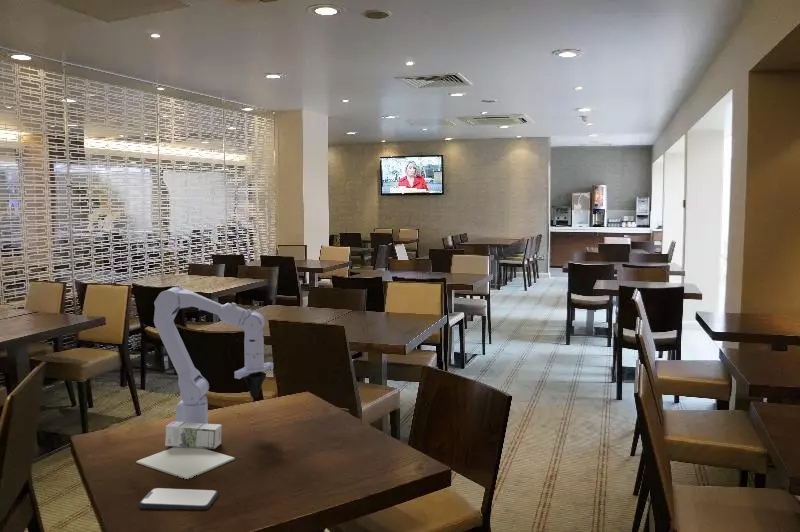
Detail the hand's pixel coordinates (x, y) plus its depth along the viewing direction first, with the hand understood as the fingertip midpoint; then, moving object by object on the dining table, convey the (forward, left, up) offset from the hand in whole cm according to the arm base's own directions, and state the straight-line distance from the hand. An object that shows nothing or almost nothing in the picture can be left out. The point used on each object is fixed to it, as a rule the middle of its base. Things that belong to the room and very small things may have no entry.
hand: (254, 396), depth 202 cm
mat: (+2, -28, -10) cm, 30 cm away
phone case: (+20, -45, -11) cm, 50 cm away
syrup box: (+2, -16, -7) cm, 18 cm away
